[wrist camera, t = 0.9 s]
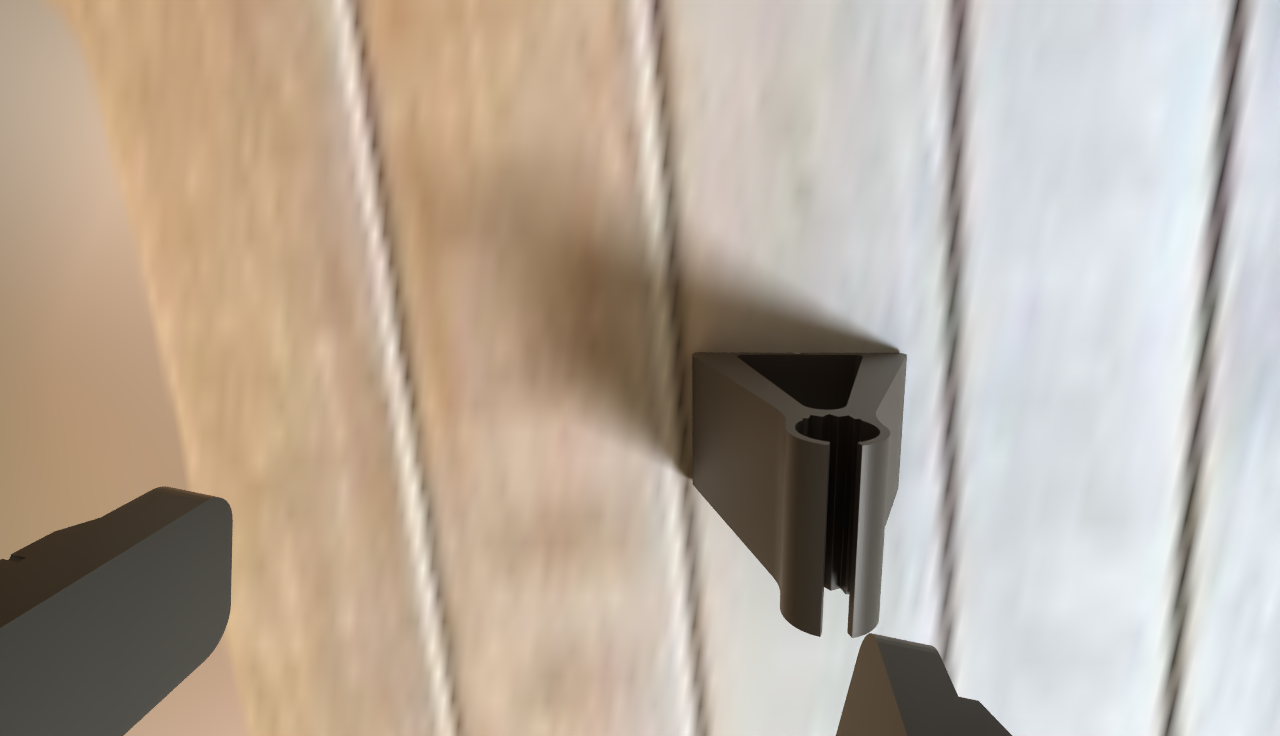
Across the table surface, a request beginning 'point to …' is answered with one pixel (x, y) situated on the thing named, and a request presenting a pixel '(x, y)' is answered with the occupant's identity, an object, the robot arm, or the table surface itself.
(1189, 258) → the table surface
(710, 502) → the phone stand
